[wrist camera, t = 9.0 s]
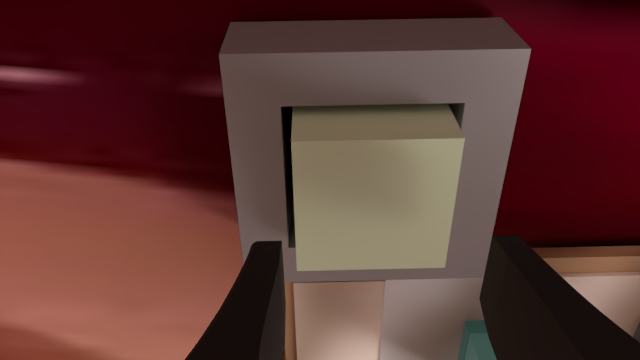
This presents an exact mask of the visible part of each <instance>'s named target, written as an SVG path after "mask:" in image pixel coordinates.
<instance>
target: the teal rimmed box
mask: <svg viewBox="0 0 640 360" xmlns="http://www.w3.org/2000/svg"><path fill="white" fill-rule="evenodd" d="M458 360H497V359H496V356H495V354H494V351H493V348H492V346H491V343H490V340H489V337H488V333H487V329H486V325H485V321H484V320H477V321H465V324H464V329H463V334H462V340H461V345H460V350H459V355H458Z"/></svg>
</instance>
